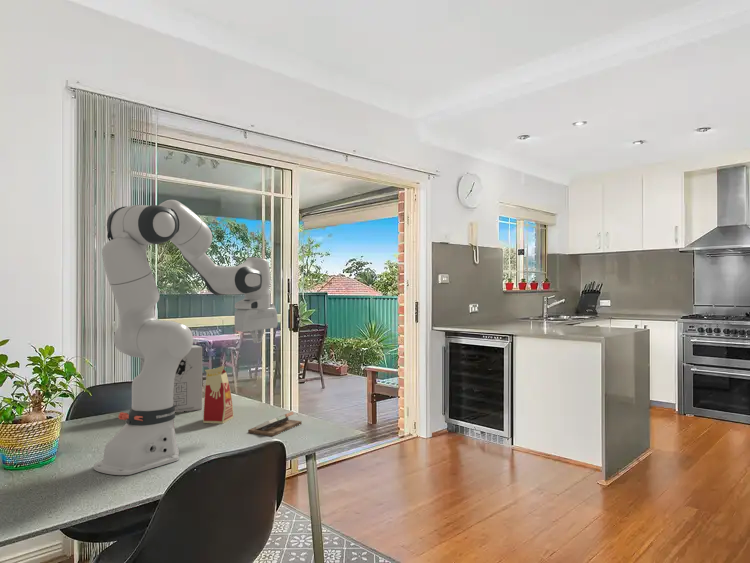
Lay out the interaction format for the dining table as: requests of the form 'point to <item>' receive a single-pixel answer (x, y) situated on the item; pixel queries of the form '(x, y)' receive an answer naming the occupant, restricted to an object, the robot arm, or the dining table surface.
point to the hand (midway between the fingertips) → (257, 342)
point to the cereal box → (187, 381)
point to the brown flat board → (275, 427)
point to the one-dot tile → (266, 423)
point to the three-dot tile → (288, 414)
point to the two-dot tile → (280, 418)
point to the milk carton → (217, 397)
